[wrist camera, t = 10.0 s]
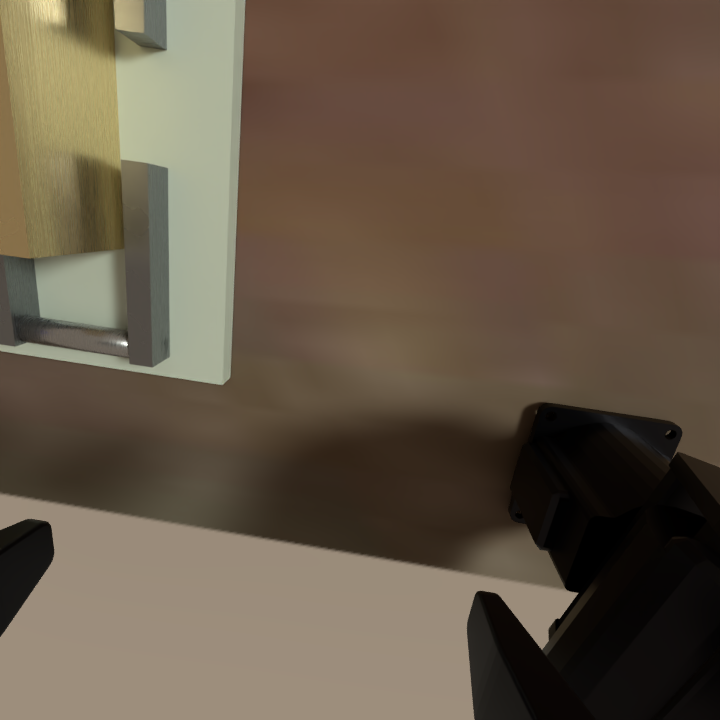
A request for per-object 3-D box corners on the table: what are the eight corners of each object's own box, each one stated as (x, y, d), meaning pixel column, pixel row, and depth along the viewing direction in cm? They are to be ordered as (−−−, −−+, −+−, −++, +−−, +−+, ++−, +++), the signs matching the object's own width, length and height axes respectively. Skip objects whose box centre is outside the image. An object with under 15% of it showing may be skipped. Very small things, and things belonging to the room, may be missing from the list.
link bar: (108, -81, 14) (-29, -228, 10) (124, 248, 18) (29, 258, 13) (23, -92, 14) (-155, -243, 10) (56, 238, 18) (-64, 245, 13)
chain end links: (163, -255, 13) (135, -313, 12) (169, 356, 19) (152, 367, 18) (-57, -282, 13) (-111, -343, 12) (21, 334, 19) (-8, 343, 18)
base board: (255, -256, 14) (245, -293, 13) (230, 377, 21) (222, 385, 20) (-106, -300, 14) (-143, -339, 13) (-9, 340, 21) (-28, 346, 20)
